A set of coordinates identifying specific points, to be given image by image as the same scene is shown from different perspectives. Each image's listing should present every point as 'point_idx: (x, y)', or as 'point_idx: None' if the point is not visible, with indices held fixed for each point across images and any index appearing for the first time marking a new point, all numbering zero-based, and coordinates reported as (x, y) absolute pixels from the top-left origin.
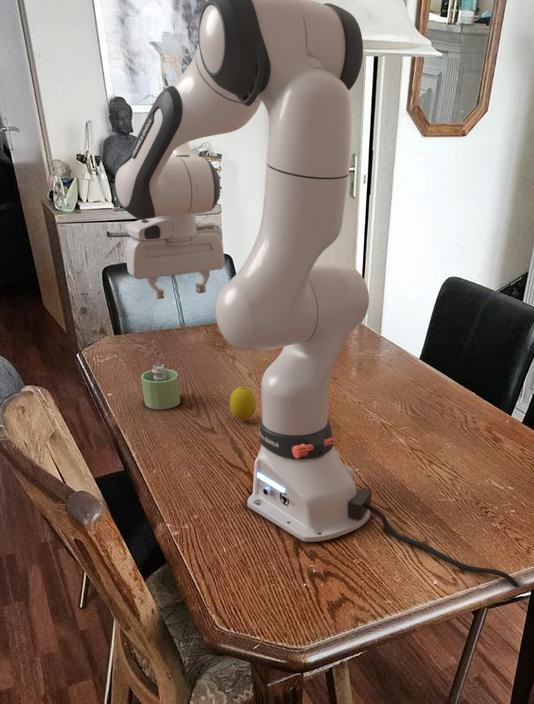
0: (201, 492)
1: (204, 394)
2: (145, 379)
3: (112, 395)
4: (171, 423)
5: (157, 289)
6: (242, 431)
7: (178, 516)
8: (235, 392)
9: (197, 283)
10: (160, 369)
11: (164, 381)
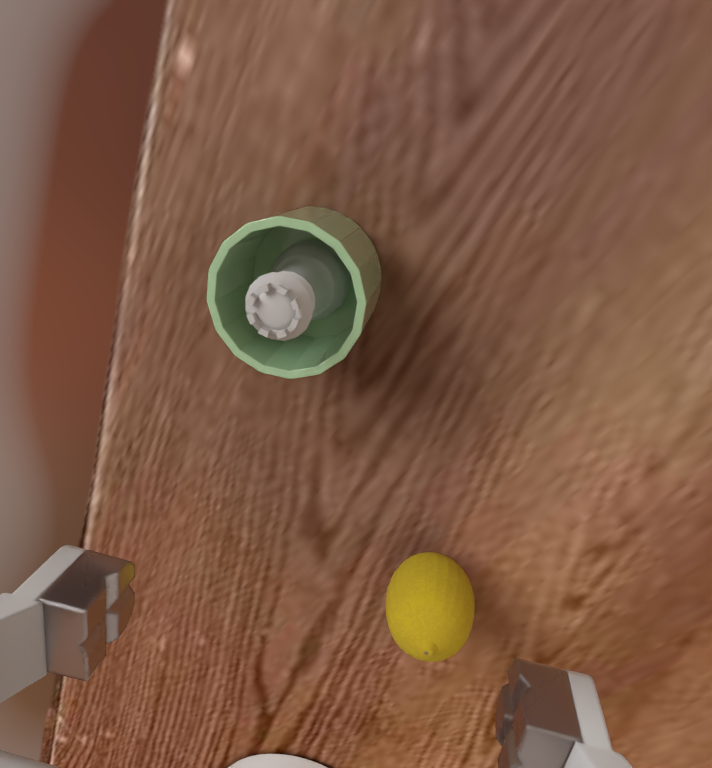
0: (151, 698)
1: (479, 324)
2: (249, 237)
3: (190, 74)
4: (254, 429)
5: (16, 679)
6: (385, 598)
7: (83, 715)
8: (400, 633)
9: (547, 741)
10: (268, 336)
11: (267, 370)
